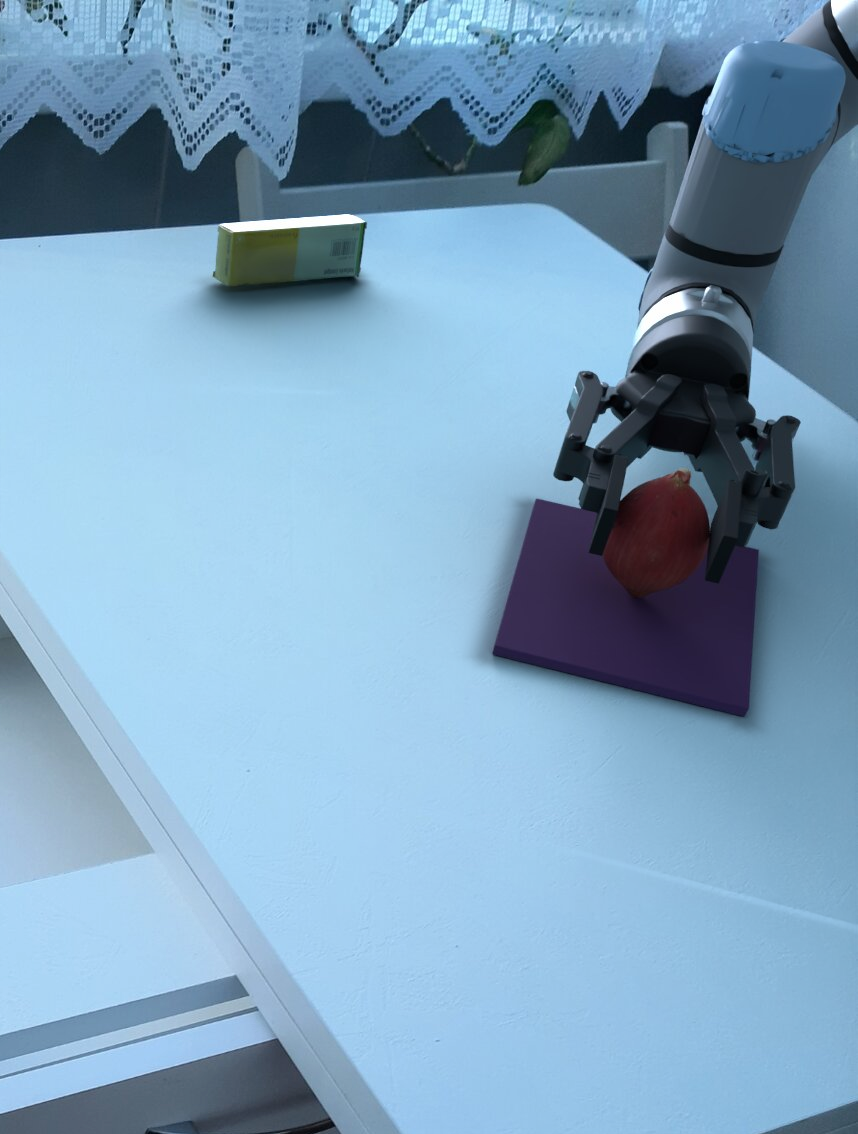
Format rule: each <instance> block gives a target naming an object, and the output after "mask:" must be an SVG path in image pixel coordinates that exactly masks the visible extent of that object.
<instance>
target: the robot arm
mask: <svg viewBox="0 0 858 1134" xmlns="http://www.w3.org/2000/svg"><path fill="white" fill-rule="evenodd" d="M713 85H714V86H713V88H712V90H711V93H710V95H709V96H708V97H707V99H706V100H705V103H704V105H703V109H702V113H701V115H702V119H701V122H700V125H699V128H698V132H697V134H696V137H695V138H696V139H695V141H694V144H693V147H692V151H691V155H690V157H689V160H688V163H687V167H686V169H685V173H684V175H683V180H682V182H681V185H680V188H679V192H678V195H677V198H676V201H675V205H674V207H673V210H672V214H671V217H670V218H669V221H668V223H667V227H666V229H665V232H664V234H663V237H662V240H661V242H660V246H659V249H658V253H657V255H656V259H655V261H654V264H653V266H652V268H650V270H649V272H648V274H647V276H646V280H645V284H644V287H643V290H642V291H641V294H640V296H639V302H638V319H637V325H636V330H635V332H634V335H633V340H632V344H631V347H630V348H631V349H630V353H629V357H628V361H627V366H626V371H625V375H624V378H622V379H620V380H619V381H618V382H617V384H616V385H615V386H609V383H607V382H606V381H600V380H601V379H599V376H598V374H596V373H595V372H593V371H590V370H580V371H578V373H577V376H576V379H575V382H574V385H573V388H572V392H571V395H570V398H569V401H568V405H567V407H566V414H567V417H568V419H569V424H568V427H567V430H566V432H565V436H564V438H563V441H562V445H561V447H560V451H559V453H558V458H557V460H556V463H555V467H554V470H553V473H552V475H553V477H554V478H555V479H556V480H558V481H561V482H572V481H573V480H574V479H577V480H579V481H580V482H581V483H582V486H581V489H580V492H579V496H578V498H577V499H578V501H579V502H578V506H579V508H580V509H583V510H587V511H592V512H596V513H597V516H596V520H595V525H594V529H593V534H592V539H591V543H590V548H589V552H588V553H591V554H595V555H600V556H602V555H603V552H604V549H605V546H606V544H607V541H608V538H609V535H610V532H611V529H612V527H613V524H614V521H615V518H616V515H617V513H618V509H619V504H620V501H621V500H622V499H621V498H622V493H623V487H624V482H625V478H626V474H627V469H628V467H629V466H630V465H632V463H633V462H635V460H636V459H640V460H641V459H642V458H644V457H645V455H646V454H648V452H649V451H651V450H652V448H653V449H657V450H660V451H663V452H668V453H683V455H684V456H687V457H688V459H689V461H690V464H691V466H692V467H693V471H695V472H696V473H702V475H703V477H704V479H705V482H706V483H707V486H708V488H709V490H710V492H711V494H712V496H713V498H714V500H715V503H716V505H717V508H716V510H715V512H714V515H713V518H712V520H711V522H710V537H709V546H708V555H707V565H706V574H705V581H709V582H714V583H718V584H719V582H720V580H721V577H722V575H723V573H724V570H725V568H726V566H727V563H728V561H729V559H730V556H731V554H732V551H733V549H734V547H735V546H739V547H747V545H748V544H749V542H750V539H751V537H752V534H753V533H754V529H755V527H756V525H757V524H758V525H759V527H762V528H764V529H767V530H775V529H778V527H779V525H780V523H781V521H782V519H783V516H784V514H785V512H786V510H787V507H788V505H789V503H790V501H791V498H792V496H793V494H794V491H795V489H796V479H795V478H796V477H795V465H794V464H795V463H794V451H793V441H794V439H795V437H796V435H797V432H798V431H799V428H800V425H801V420H800V419H799V418H797V417H795V416H793V415H788V414H787V415H786V414H785V415H782V416H780V417H779V418H778V419H777V420H775V419H771V418H769V419H767V420H766V421H764V420H763V419H759V418H756V416H757V412H756V409H755V407H754V406H753V405H752V403H750V402H749V398H750V389H751V377H752V361H753V360H752V358H753V346H754V336H755V325H756V320H757V318H758V315H759V311H760V308H761V305H762V303H763V301H764V298H765V295H766V293H767V291H768V288H769V285H770V282H771V280H772V277H773V275H774V271H775V270H776V267H777V266H778V265H777V264H778V262H779V259H780V257H781V255H782V252H783V249H784V246H785V242H786V239H787V237H788V235H789V231H790V230H791V228H792V226H793V225H792V224H793V222H794V221H795V218H796V215H797V213H798V211H799V208H800V205H801V203H802V200H803V198H804V195H805V193H806V190H807V188H808V185H809V183H810V181H811V179H812V176H813V175H814V173H815V172H816V171H817V169H818V167H819V166H820V164H821V163H822V162H823V160H824V158H825V157H826V156H827V154H828V153H829V151H830V150H831V148H832V147H833V146H834V145H835V144H836V143H837V142H838V141H839V140H841V139H842V138H843V137H844V136H846V135H847V134H848V133H849V132H850V131H852V130H853V129H854V128H856V127H857V126H858V0H828V1H827V2H826V3H824V4H823V5H822V6H821V7H819V8H818V9H817V10H816V11H815V12H813V13H812V14H811V15H810V16H809V17H808V18H807V19H806V20H805V21H803V22H802V23H801V24H800V25H799V26H798V27H797V28H795V29H794V30H793V31H792V32H791V33H790V34H789V35H787V36H784V37H782V38H780V39H779V40H756V41H754V42H743V43H741V44H738V45H737V46H735V47H734V48H732V50H730V51H729V53H727V55H726V56H725V58H724V60H723V62H722V65H721V67H720V70H719V73H718V75H717V78H716V80H715V82H714V84H713ZM609 409H610V412H611V414H612V415H613V416H614V417H615V418H616V419H618V421H620V423H619V424H618V425H616V426H615V428H613V429H612V430H611V431H610V432H609V433H608V434H607V435H606V436H605V437H604V438H603V439H601V441H599V442H598V443H597V444H596V445H595V447H592V446H588V445H586V444H587V442H588V440H589V437H590V434H591V430H592V428H593V424H597V423H598V420H599V417H600V416H602V415H604V414H606V412H607V410H609ZM745 440H748V441H750V443H751V448H752V449H753V450H754V451H753V453H752V456H751V458H750V457H749V455H748V454H747V451H746V449H745V448H744V446H743V444H742V442H744V441H745ZM750 459H752V460H753V461H755V462H756V465H755V467H754V465H753V463H752V461H751V460H750Z"/></svg>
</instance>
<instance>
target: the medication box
mask: <svg viewBox="0 0 858 1134" xmlns="http://www.w3.org/2000/svg"><path fill="white" fill-rule="evenodd" d="M367 228H368V221H365V220H363V219H362V218H360V217H358V216H355V215H353V214H337V215H326V216H325V215H324V216H309V217H299V218H297V217H296V218H284V219H283V218H282V219H281V218H280V219H270V220H256V221H242V222H240V221H239V222H230V223H219V224H218V225H217V233H218V234H217V242H216V253H215V267H214V271H213V272H212V278H214V279H215V280H217V281H219V283H222V284H224V285H225V286H227V287H239V286H249V285H260V284H263V285H264V284H275V283H286V282H299V281H310V280H321V279H323V280H324V279H332V278H333V279H335V278H347V277H356V278H359V277H360V274H361V271H362V270H361V269H362V267H361V266H362V265H361V264H362V258H363V252H364V251H363V250H364V244H365V235H366V230H367Z"/></svg>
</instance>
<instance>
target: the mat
mask: <svg viewBox="0 0 858 1134" xmlns="http://www.w3.org/2000/svg"><path fill="white" fill-rule="evenodd" d="M596 516H597V513H596V512H592V511H587V510H583V509H581V507H575V506H570V505H567V504H562V503H558V502H553V501H549V500H545V499H542V498H535V499H534V503H533V506H532V510H531V514H530V517H529V521H528V524H527V528H526V532H525V535H524V539H523V542H522V546H521V549H520V553H519V556H518V560H517V564H516V567H515V570H514V575H513V578H512V582H511V585H510V589H509V591H508V595H507V599H506V603H505V606H504V610H503V613H502V616H501V621H500V624H499V628H498V631H497V634H496V639H495V642H494V646H493V649H492V655H494V656H498V657H502V658H506V659H510V660H515V661H519V662H521V663H525V664H530V665H535V666H538V667H543V668H546V669H551V670H555V671H558V672H563V673H567V674H570V675H574V676H577V677H578V676H579V677H583V678H587V679H591V680H595V681H599V682H603V683H607V684H611V685H615V686H620V687H623V688H627V689H632V690H635V691H639V692H643V693H648V694H650V695H656V696H659V697H663V698H667V699H671V700H675V701H679V702H684V703H689V704H692V705H695V706H700V707H703V708H708V709H712V710H716V711H720V712H724V713H727V714H731V715H736V716H740V717H746V716H747V713H748V711H749V709H750V694H751V679H752V665H753V649H754V633H755V632H754V631H755V618H756V617H755V616H756V603H757V602H756V601H757V586H758V585H757V584H758V573H759V571H758V569H759V554H760V549H758V548H753V547H749V546H745V547H739V546H735V547H734V549H733V551H732V554H731V556H730V559H729V561H728V563H727V566H726V568H725V570H724V573H723V575H722V577H721V580H720V582H719V584H718V583H714V582H709V581H705V574H706V565H707V555H708V549H707V553H706V555H705V556H704V558H703V560H702V562H701V564H700V565H699V566H698V568H697V569H696V570H695V571H694V572H693V573H692V574H691V575H690V576H689V577H688V578H687V579H686V580H685V581H684V582H682V583H680V584H678V585H676V586H673V587H671V588H669V589H665V590H662V591H658V592H654V593H651V594H649V595H646V596H644V597H641V598H638V597H634V596H631V595H630V594H629V593H628V592H627V591H626V589H625V588H624V587H623V586H622V585H621V584H620V583H619V582H618V581H617V580H616V578H615V577H614V576H613V575H612V574H611V573H610V571H609V569H608V568H607V566H606V565H605V563H604V559H603V555H602V556H600V555H595V554H591V553H588V552H589V548H590V543H591V539H592V534H593V529H594V525H595V520H596ZM708 546H709V545H708Z"/></svg>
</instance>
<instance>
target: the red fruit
mask: <svg viewBox="0 0 858 1134" xmlns="http://www.w3.org/2000/svg"><path fill="white" fill-rule="evenodd" d="M691 478H692V471H691V470H690V469H688V468H685V467H684V468H678V469H677V470H675V471H674V472H671V473H669V474H666V475H664V476H661V477H657V478H654V479H651V480H647V481H645V482H643V483H641V484H639V485H637V486H636V487H634V488H632V489H631V490H630V491H629V492H628V493H627V494H626V495H624V496H623V497H622V499H620V504H619V509H618V513H617V515H616V518H615V521H614V524H613V527H612V529H611V532H610V535H609V538H608V541H607V544H606V546H605V549H604V552H603V559H604V563H605V565H606V566H607V568H608V569H609V571H610V573H611V574H612V575H613V576H614V577H615V578H616V580H617V581H618V582H619V583H620V584H621V585H622V586H623V587H624V588H625V589H626V591H627V592H628V593H629V594H630V595H631V596H634V597H638V598H641V597H644V596H646V595H649V594H651V593H654V592H658V591H662V590H665V589H669V588H671V587H673V586H676V585H678V584H680V583H682V582H684V581H685V580H686V579H687V578H688V577H689V576H690V575H691V574H692V573H693V572H694V571H695V570H696V569H697V568H698V566H699V565H700V564H701V562H702V560H703V558H704V556H705V555H706V553H707V549H708V545H709V537H710V527H711V523H710V518H709V515H708V511H707V509H706V506H705V504H704V502H703V500H702V498H701V496H700V495H699V494H698V493H697V491H696V490H695V489H694V488H693V487H692V486H691Z"/></svg>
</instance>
